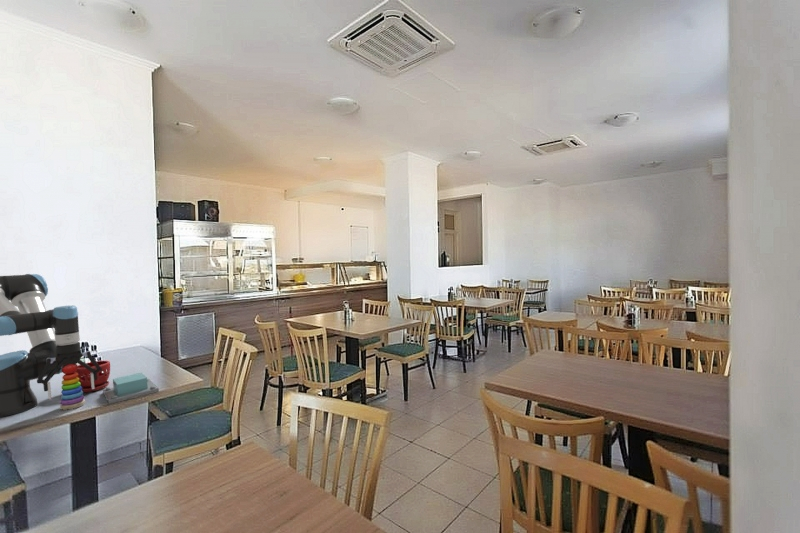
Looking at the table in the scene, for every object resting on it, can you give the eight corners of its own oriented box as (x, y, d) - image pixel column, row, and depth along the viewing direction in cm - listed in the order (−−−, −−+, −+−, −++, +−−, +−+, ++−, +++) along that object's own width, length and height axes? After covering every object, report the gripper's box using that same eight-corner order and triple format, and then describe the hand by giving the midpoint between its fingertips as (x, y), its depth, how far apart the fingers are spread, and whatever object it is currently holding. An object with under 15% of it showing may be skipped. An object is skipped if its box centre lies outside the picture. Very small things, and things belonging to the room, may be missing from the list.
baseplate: (109, 403, 158) (108, 388, 158) (103, 393, 171) (102, 379, 170) (158, 391, 171) (157, 377, 170) (149, 382, 183) (148, 369, 183)
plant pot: (114, 387, 178) (113, 362, 177) (79, 396, 168) (77, 370, 167) (107, 381, 186) (106, 357, 186) (73, 389, 176) (71, 364, 175)
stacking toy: (90, 402, 160) (87, 359, 159) (72, 410, 152) (68, 365, 151) (73, 402, 161) (70, 359, 160) (54, 410, 153) (51, 365, 152)
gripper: (25, 351, 144) (30, 405, 145) (107, 338, 161) (110, 386, 162) (25, 348, 149) (30, 400, 150) (104, 336, 167) (108, 382, 168)
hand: (72, 393), depth 156 cm, fingers open, 13 cm apart
